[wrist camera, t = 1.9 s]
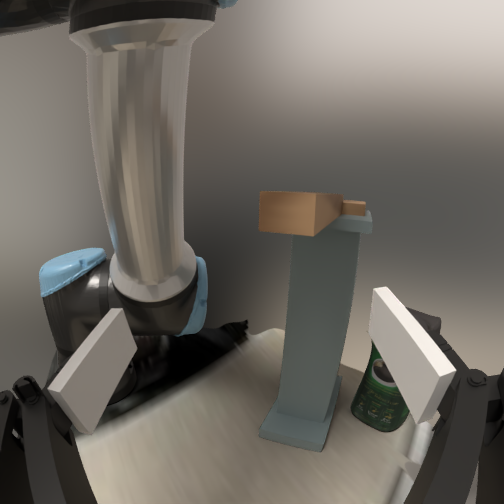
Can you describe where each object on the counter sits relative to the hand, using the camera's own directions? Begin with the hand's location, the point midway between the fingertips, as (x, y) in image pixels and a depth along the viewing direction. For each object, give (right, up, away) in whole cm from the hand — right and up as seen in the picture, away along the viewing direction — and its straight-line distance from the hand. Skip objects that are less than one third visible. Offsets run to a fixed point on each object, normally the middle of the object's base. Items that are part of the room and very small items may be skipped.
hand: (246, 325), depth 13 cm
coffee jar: (+20, -22, +21) cm, 37 cm away
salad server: (+7, +7, +12) cm, 16 cm away
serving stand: (+9, -21, +24) cm, 33 cm away
